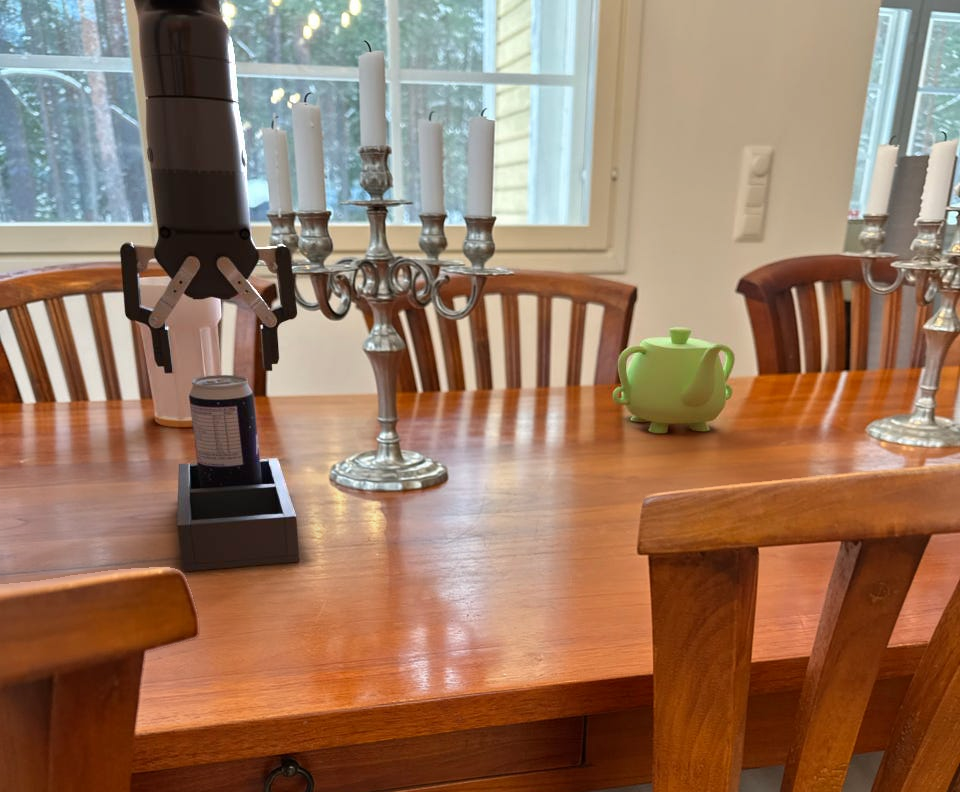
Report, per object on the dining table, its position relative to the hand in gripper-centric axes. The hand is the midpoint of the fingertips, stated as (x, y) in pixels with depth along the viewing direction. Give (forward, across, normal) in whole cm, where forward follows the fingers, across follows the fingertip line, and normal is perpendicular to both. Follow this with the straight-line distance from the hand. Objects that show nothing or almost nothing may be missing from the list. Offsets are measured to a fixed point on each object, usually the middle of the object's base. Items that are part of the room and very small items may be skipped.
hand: (218, 370), depth 80 cm
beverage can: (+13, 0, 0) cm, 13 cm away
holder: (+14, 0, +4) cm, 14 cm away
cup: (+14, +4, -41) cm, 43 cm away
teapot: (+13, -59, -24) cm, 65 cm away
